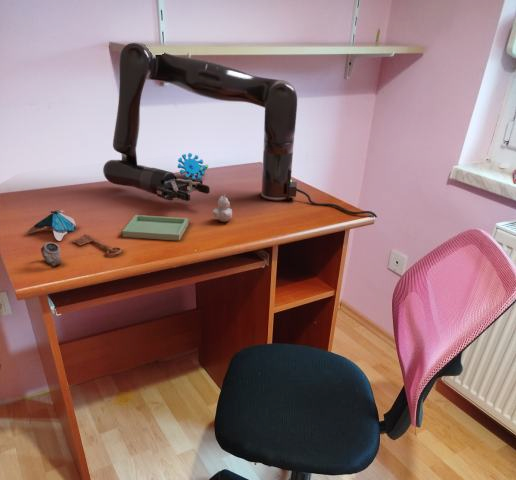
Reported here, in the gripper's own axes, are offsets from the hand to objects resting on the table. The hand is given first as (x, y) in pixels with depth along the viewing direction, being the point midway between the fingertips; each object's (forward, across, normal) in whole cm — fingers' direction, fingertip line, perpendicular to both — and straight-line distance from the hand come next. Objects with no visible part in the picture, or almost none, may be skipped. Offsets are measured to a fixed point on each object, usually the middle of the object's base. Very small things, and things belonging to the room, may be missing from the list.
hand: (199, 193), depth 138 cm
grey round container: (-6, -46, +6) cm, 47 cm away
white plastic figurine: (+8, 0, +6) cm, 10 cm away
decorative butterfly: (-20, -34, +6) cm, 40 cm away
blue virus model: (-26, +27, +6) cm, 37 cm away
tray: (-1, -16, +6) cm, 18 cm away
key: (-4, -34, +6) cm, 35 cm away
